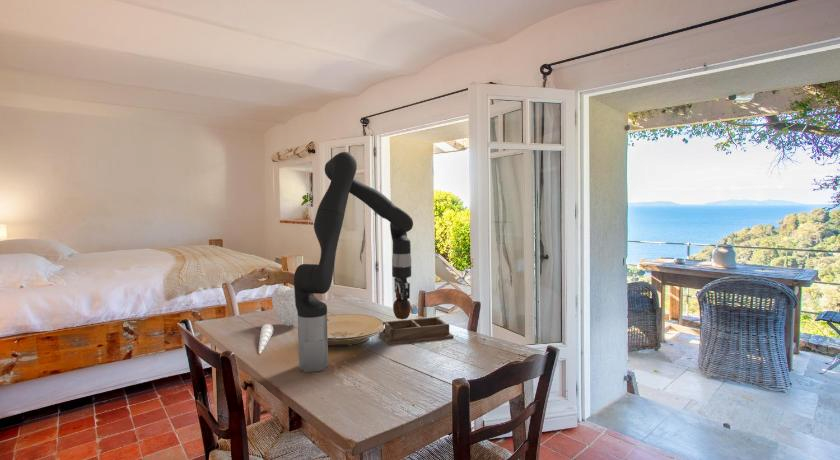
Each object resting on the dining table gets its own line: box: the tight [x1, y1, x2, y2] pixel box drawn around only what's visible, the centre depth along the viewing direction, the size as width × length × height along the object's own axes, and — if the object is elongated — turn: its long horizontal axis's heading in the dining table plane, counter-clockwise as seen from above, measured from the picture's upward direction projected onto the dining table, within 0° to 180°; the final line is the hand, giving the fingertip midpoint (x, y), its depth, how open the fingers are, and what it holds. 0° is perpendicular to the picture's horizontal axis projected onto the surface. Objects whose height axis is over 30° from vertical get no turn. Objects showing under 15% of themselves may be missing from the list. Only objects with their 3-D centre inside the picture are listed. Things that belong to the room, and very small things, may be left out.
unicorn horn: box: [258, 323, 275, 355], centre depth 155 cm, size 5×24×5 cm, turn 10°
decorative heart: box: [271, 285, 298, 328], centre depth 178 cm, size 18×11×17 cm, turn 57°
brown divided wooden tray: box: [379, 316, 455, 346], centre depth 164 cm, size 16×26×5 cm, turn 108°
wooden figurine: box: [392, 287, 412, 320], centre depth 162 cm, size 7×6×15 cm
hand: (401, 306), depth 162 cm, fingers closed on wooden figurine, 7 cm apart
